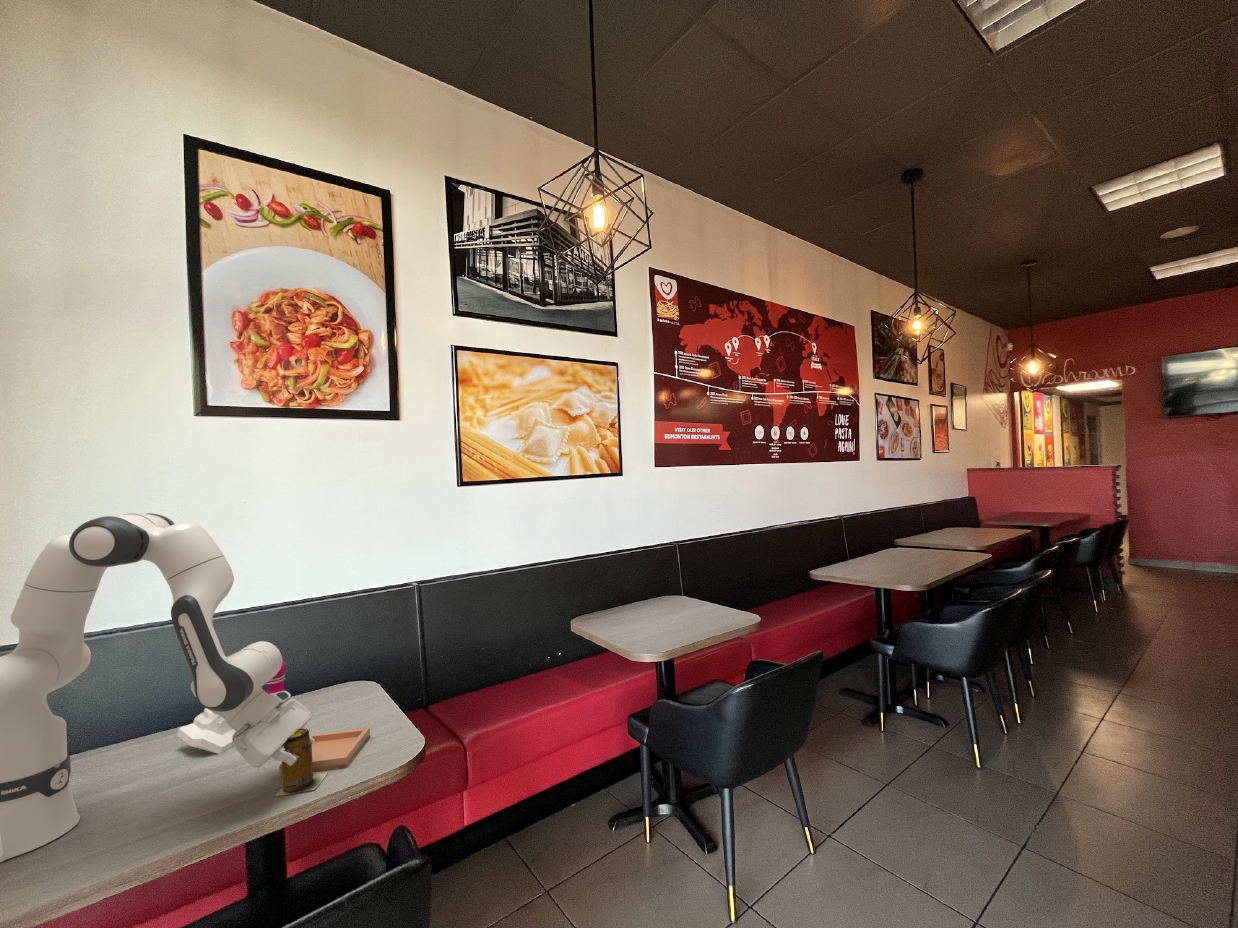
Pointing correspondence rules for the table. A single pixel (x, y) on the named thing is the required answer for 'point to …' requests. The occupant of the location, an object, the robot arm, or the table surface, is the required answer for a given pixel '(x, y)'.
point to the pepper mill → (277, 681)
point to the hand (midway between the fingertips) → (303, 752)
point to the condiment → (299, 765)
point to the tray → (336, 749)
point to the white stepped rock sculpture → (208, 733)
